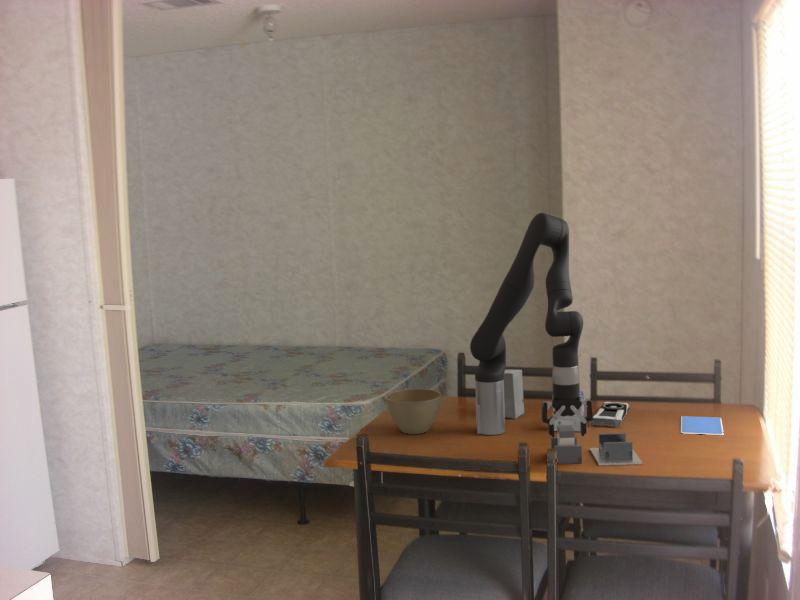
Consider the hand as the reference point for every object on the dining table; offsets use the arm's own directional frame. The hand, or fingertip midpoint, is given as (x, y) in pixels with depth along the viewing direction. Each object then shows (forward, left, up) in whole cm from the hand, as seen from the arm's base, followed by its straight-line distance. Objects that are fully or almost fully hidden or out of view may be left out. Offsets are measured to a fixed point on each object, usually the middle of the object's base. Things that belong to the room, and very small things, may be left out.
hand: (567, 436), depth 233 cm
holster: (-1, 0, -7) cm, 7 cm away
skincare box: (-13, +48, -7) cm, 50 cm away
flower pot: (-46, +32, -7) cm, 56 cm away
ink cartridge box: (+4, +29, -7) cm, 30 cm away
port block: (+13, 0, -7) cm, 15 cm away
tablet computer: (+46, +28, -7) cm, 55 cm away
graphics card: (+21, +41, -7) cm, 47 cm away
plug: (-1, 0, -7) cm, 7 cm away
